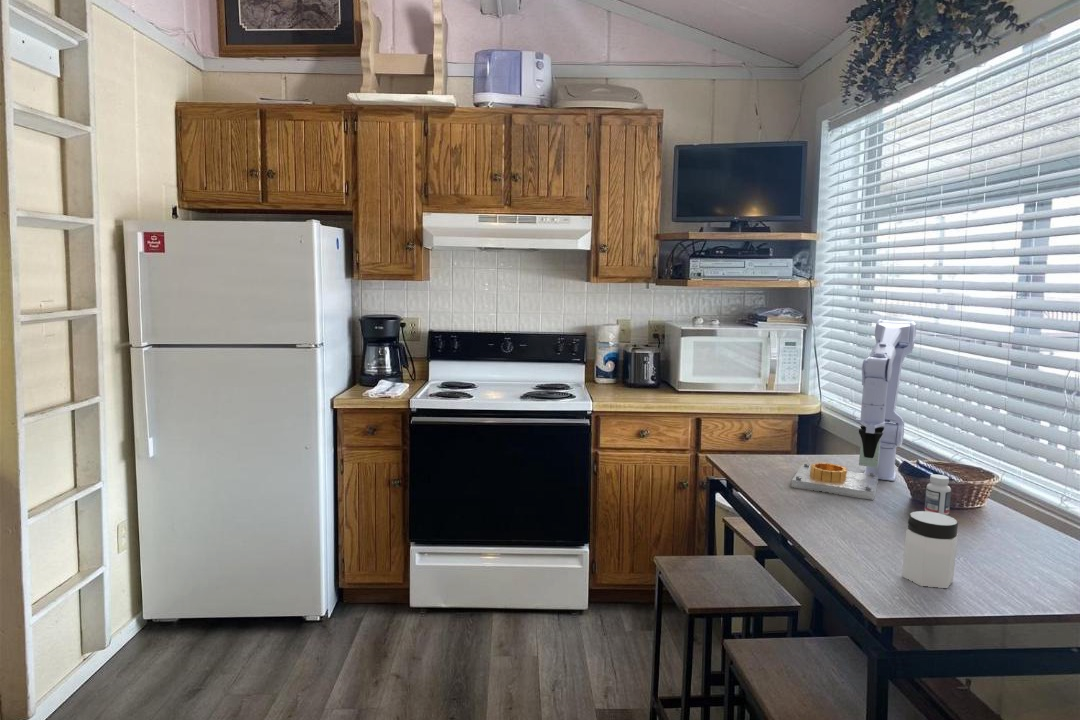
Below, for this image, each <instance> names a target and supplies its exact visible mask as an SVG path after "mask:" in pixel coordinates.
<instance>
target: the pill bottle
mask: <svg viewBox="0 0 1080 720" xmlns="http://www.w3.org/2000/svg"><path fill="white" fill-rule="evenodd" d="M929 477H930V478H929V481H930V482H929V483H927V485H926V489H925V502H924V511H928V512H935V513H940V514H944V515H947V516H949V514H950V507H951V495H952V488H951V487H950V486H949V485H948V484H949V482H950V477H949V476H947V475H943V474H935V473H934V474H931V475H930V476H929Z"/></svg>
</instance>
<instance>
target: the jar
mask: <svg viewBox="0 0 1080 720" xmlns="http://www.w3.org/2000/svg"><path fill="white" fill-rule="evenodd" d="M958 526H959V522H958V520H957V519H956V518H954V517H952V516H950V515H944V514H940V513H935V512H928V511H925V510H918V511H912V512H910V513H909V515H908V518H907V529H906V530H905V539H904V549H903V550H904V551H903V560H902V571H901V577H902V578H904V579H906V580H908V579H909V580H908V581H910V582H912V581H913V582H912V583H914V584H916V585H918V586H919V587H923V586H928V587H927V588H933V587H938V588H937V589H943V588H947V589H948V588H949V587H950V586H951V584H952V583H953V581H954V575H955V566H956V564H955V563H956V555H957V547H958V538H959V537H958V536H959V534H958ZM949 585H950V586H949Z"/></svg>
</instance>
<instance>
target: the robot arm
mask: <svg viewBox="0 0 1080 720" xmlns="http://www.w3.org/2000/svg"><path fill="white" fill-rule="evenodd" d="M916 335H917V324H916V323H915V321H900V320H885V319H884V320H883V319H878V320H877V321H876V323H875V330H874V338H875V345H874V346H873V347H872V350H871V352H870V355H869V356H868V357H867V358H864V359H863V360H862V361H863V362H862V365H861V377H862V378H861V379H862V380H861V385H862V396H861V407H860V409H861V410H860V418H858V417H856V418H855V420H854V422H856V423H859V424H861V425H860V427H859V429H858V434H859V436H860V440H861V439H862V443H863V453H864V457H867V458H873V457H874V454H875V451H876V447H877V444H878V441H879V439H880V438H881V439H880V450H879V461H878V467H877V468H875V467H868V466H865V469H864V472H863V473H866V474H870V473H875V475H879V477H878V480H883V481H889V482H895V480H896V475H897V472H896V471H895V467H896V466H895V465H896V454H897V448H898V447H900V446H902V445H903V442H904V436H905V421H904V418H903V417H902V416H901V415H900V414H899V413H898V412H896V409H897V403H898V402H897V401H898V393H899V387H900V381H901V374H902V367H903V363H904V360H905V357H906V355H909V354H911V353H913V349H914V348H915V341H916Z"/></svg>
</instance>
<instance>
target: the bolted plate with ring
mask: <svg viewBox="0 0 1080 720" xmlns="http://www.w3.org/2000/svg"><path fill="white" fill-rule="evenodd" d="M878 477H879V475H875V473H870V474H866V473H864V472H859V471H858V472H857V471H852V470H848V468H847V467H845V466H843V465H840V464H835V463H829V462H815V463H811V465H810V464H809V463H804V464H801V465H800V467H799V469H798V470H797V471H796V473H795V475H793V477H792V479H791V488H793V487H794V488H795V489H800V490H801V489H802V490H806V489H807V491H813V490H814V491H813V492H819V491H822V492H821V493H825V492H829V493H828V494H832V493H834V494H833V495H838V494H839V495H838V496H846V497H852V498H857V497H858V498H859V499H866V500H871V501H875V497H876V492H877V488H878V484H879V479H878ZM794 488H793V489H794Z"/></svg>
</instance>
